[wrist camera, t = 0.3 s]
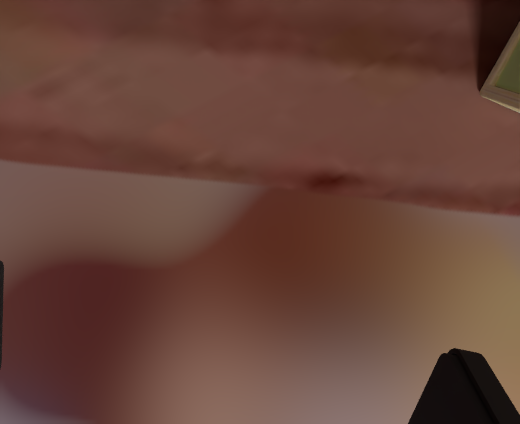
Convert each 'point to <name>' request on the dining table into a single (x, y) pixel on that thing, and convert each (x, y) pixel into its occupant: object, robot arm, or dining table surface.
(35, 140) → the dining table surface
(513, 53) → the toy refrigerator
